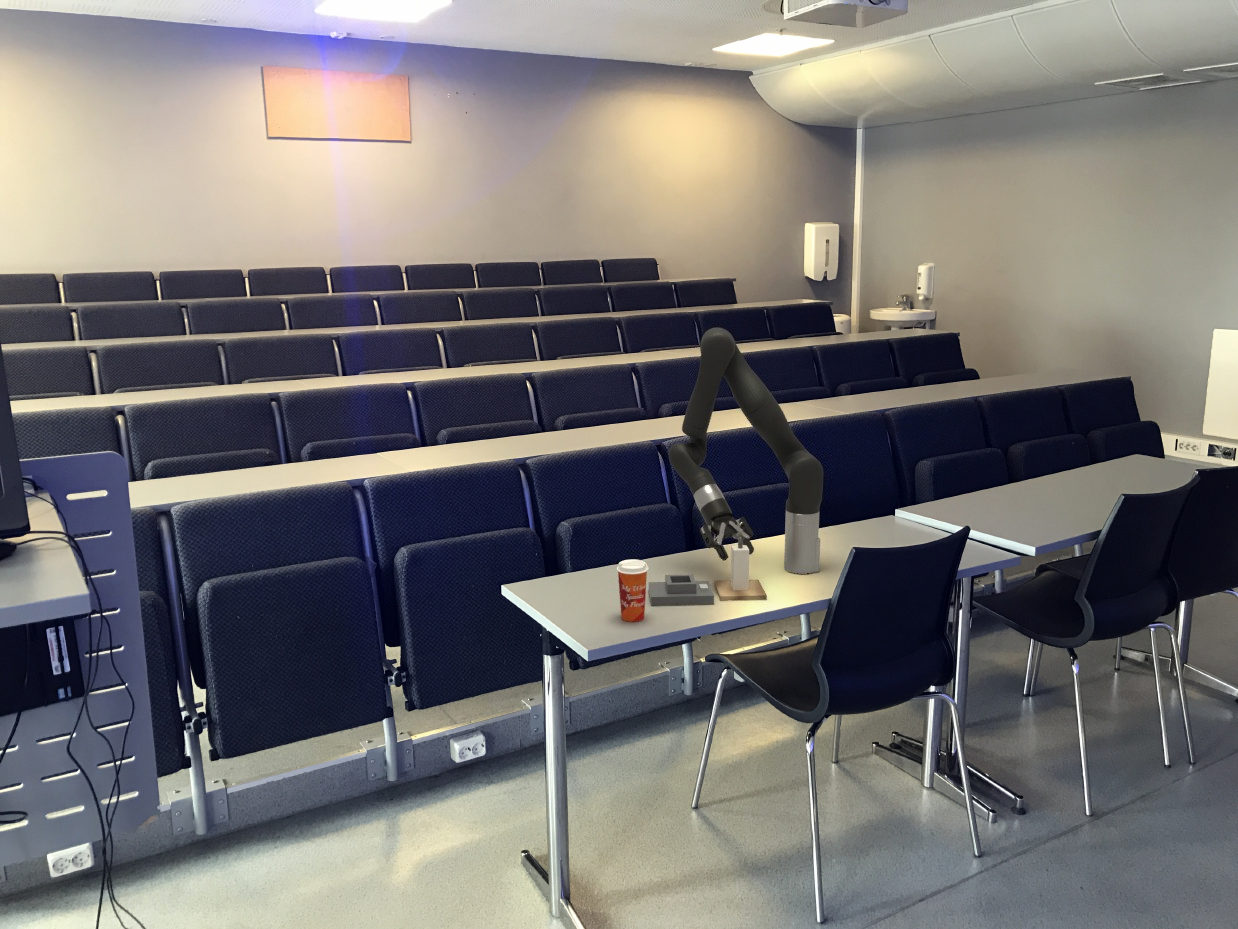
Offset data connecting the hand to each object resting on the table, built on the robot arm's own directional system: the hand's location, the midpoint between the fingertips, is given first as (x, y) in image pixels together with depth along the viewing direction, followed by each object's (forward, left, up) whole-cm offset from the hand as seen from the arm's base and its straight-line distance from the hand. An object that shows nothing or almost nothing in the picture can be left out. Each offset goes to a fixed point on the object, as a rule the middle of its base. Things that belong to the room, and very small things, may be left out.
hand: (738, 556), depth 244 cm
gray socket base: (+16, +4, -10) cm, 19 cm away
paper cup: (+29, +17, -10) cm, 35 cm away
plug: (0, +1, -8) cm, 9 cm away
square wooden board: (0, +1, -10) cm, 10 cm away
